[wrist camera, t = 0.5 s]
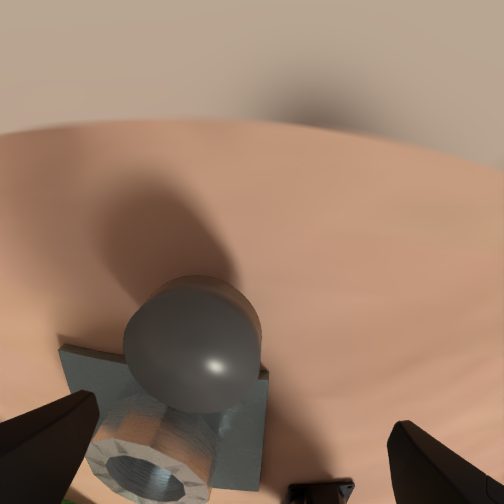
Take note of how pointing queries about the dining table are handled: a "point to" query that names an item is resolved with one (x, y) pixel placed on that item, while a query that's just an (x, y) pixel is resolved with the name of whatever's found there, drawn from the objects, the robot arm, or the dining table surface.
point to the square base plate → (165, 436)
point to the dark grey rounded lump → (195, 345)
